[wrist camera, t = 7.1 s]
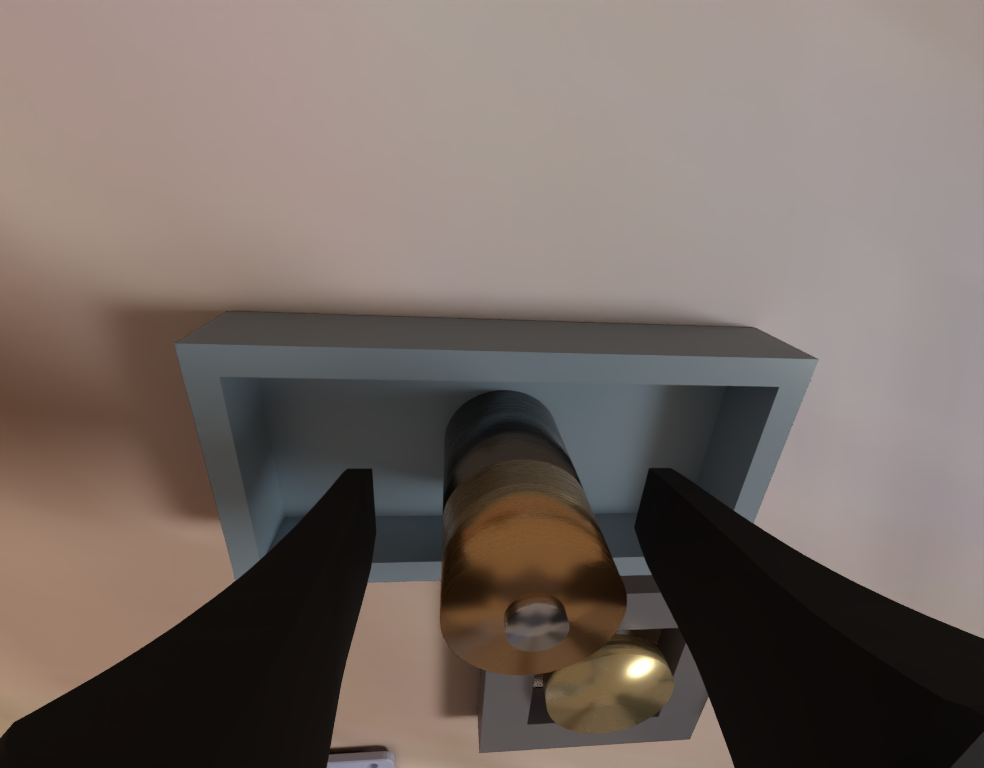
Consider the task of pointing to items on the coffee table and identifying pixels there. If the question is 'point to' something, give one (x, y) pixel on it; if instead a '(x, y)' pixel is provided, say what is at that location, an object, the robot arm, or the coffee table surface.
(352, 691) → the coffee table surface
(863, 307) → the coffee table surface
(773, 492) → the coffee table surface
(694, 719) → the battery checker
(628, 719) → the disc
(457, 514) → the battery cell
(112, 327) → the coffee table surface
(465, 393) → the slate trough
